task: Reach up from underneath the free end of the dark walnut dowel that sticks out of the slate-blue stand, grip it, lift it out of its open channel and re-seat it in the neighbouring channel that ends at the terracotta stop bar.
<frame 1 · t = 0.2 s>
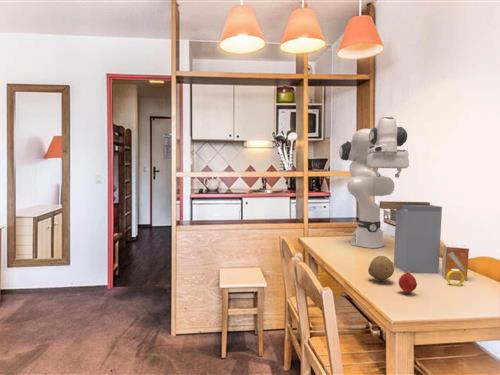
hand: (387, 177, 181), 39 cm above the table, tool pointing down, fingers open, 8 cm apart
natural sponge: (381, 282, 142), on the table
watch: (454, 285, 139), on the table
red rounded lump: (407, 294, 129), on the table
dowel: (404, 208, 161), point 26 cm above the table, touching stand
stand: (415, 269, 160), on the table
small box: (454, 278, 149), on the table
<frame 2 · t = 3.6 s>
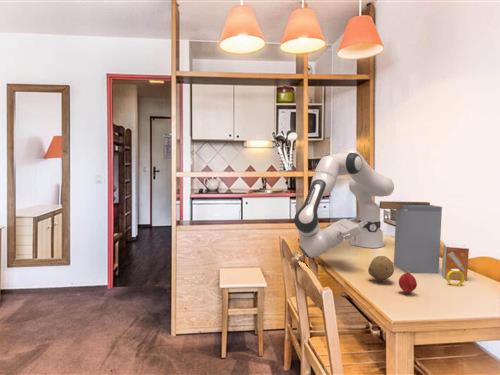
hand: (362, 219, 161), 21 cm above the table, tool pointing upward, fingers open, 8 cm apart
nothing on the table moved.
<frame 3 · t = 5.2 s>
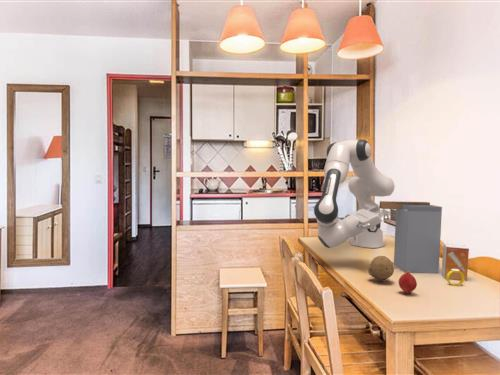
hand: (381, 209, 161), 26 cm above the table, tool pointing upward, fingers open, 8 cm apart
nothing on the table moved.
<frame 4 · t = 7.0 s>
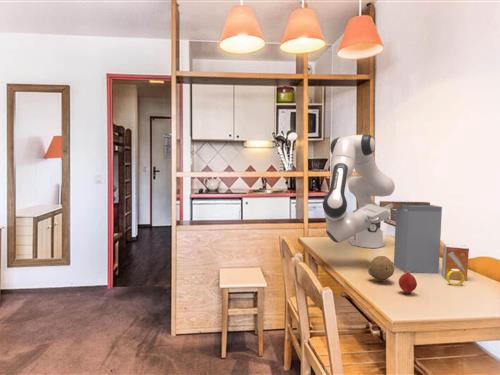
hand: (389, 204, 161), 28 cm above the table, tool pointing upward, fingers closed on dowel, 3 cm apart
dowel: (404, 208, 161), point 26 cm above the table, touching gripper, stand
everything else where it was.
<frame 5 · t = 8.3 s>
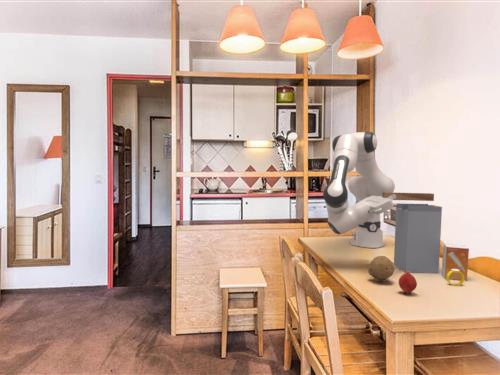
hand: (393, 195, 158), 32 cm above the table, tool pointing upward, fingers closed on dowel, 3 cm apart
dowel: (407, 200, 158), point 30 cm above the table, touching gripper
everything else where it was.
when the fingers open (29 cm above the table, at t = 9.7 s): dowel stays where it is, resting on stand.
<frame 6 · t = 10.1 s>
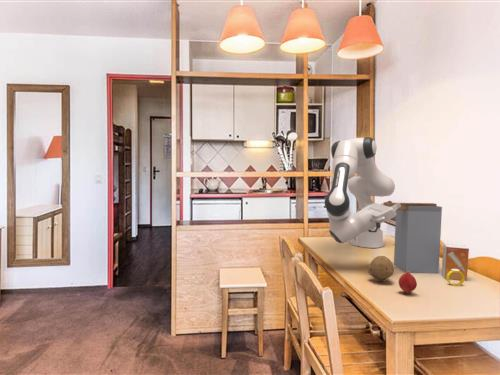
hand: (395, 203, 155), 29 cm above the table, tool pointing upward, fingers open, 7 cm apart
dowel: (410, 210, 156), point 26 cm above the table, touching stand
everything else where it was.
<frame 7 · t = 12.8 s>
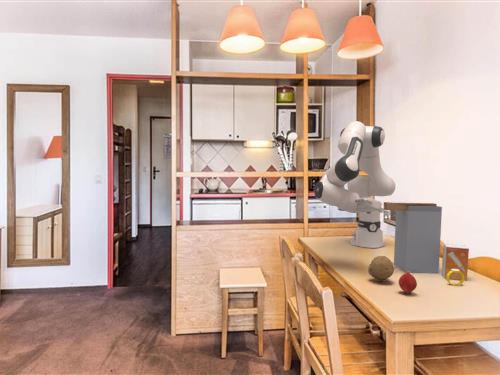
hand: (376, 211, 161), 25 cm above the table, tool tilted 70°, fingers open, 8 cm apart
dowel: (410, 210, 156), point 26 cm above the table, touching gripper, stand
everything else where it was.
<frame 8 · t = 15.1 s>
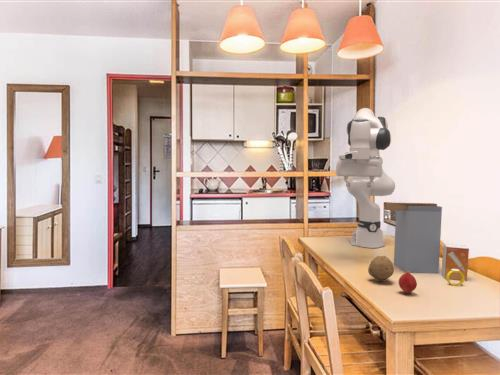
hand: (358, 186, 164), 35 cm above the table, tool pointing down, fingers open, 8 cm apart
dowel: (410, 210, 156), point 26 cm above the table, touching stand
everything else where it was.
at the end: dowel 0.1 cm from the target spot on the stand, point 26.0 cm above the stand's base; the gripper is holding nothing; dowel tilted 0° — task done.
